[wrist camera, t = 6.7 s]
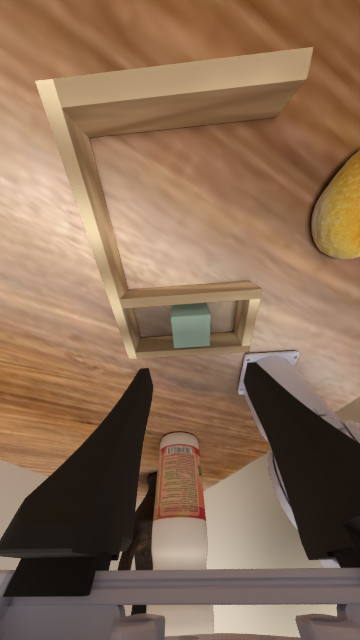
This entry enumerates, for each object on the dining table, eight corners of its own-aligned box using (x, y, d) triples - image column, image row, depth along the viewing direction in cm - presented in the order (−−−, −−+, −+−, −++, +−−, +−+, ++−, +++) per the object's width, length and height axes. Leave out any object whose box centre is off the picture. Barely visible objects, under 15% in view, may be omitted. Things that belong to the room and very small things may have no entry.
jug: (202, 476, 50) (228, 736, 24) (167, 488, 57) (157, 702, 31) (154, 460, 43) (115, 810, 17) (120, 475, 49) (54, 744, 23)
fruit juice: (179, 426, 33) (182, 951, 9) (205, 440, 37) (259, 844, 12) (152, 440, 36) (99, 851, 12) (178, 451, 40) (179, 789, 15)
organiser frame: (240, 337, 21) (248, 351, 18) (135, 343, 21) (129, 359, 19) (279, 95, 10) (313, 46, 8) (70, 118, 11) (35, 80, 8)
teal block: (204, 326, 20) (209, 345, 16) (175, 328, 20) (174, 348, 17) (204, 299, 18) (210, 314, 14) (172, 301, 18) (170, 317, 15)
